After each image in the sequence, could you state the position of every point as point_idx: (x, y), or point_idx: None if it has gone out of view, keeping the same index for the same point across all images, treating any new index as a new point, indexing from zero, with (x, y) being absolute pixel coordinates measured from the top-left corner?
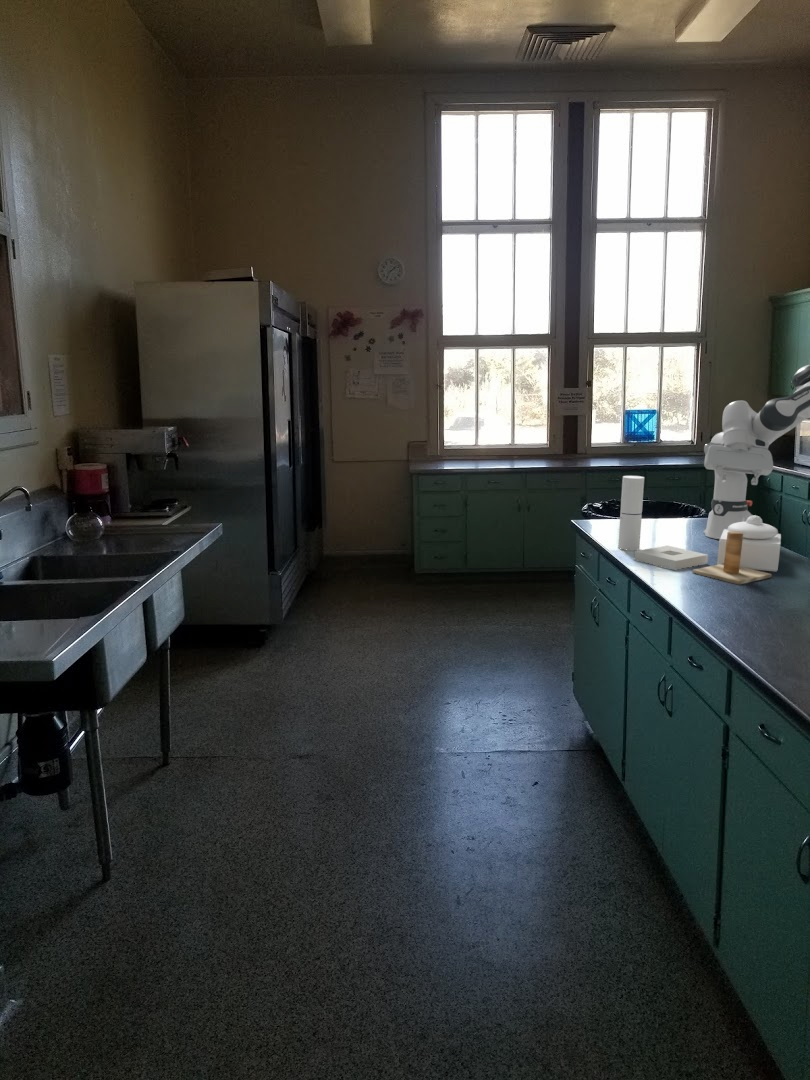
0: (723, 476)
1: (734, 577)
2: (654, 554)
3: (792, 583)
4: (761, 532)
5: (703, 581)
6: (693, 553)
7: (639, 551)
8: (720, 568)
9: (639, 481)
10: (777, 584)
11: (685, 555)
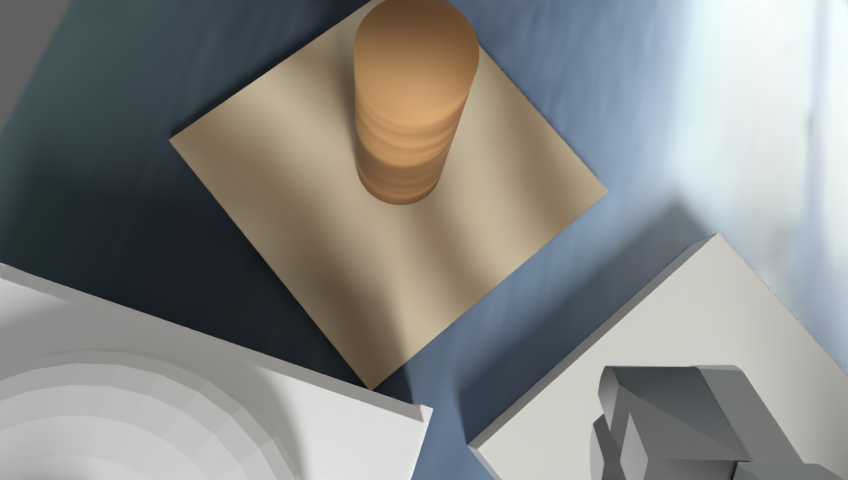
0: (711, 407)
1: None
2: (830, 400)
3: (107, 29)
4: (76, 356)
5: (575, 29)
6: (571, 475)
7: None
8: (438, 241)
9: None
10: (202, 3)
11: None
